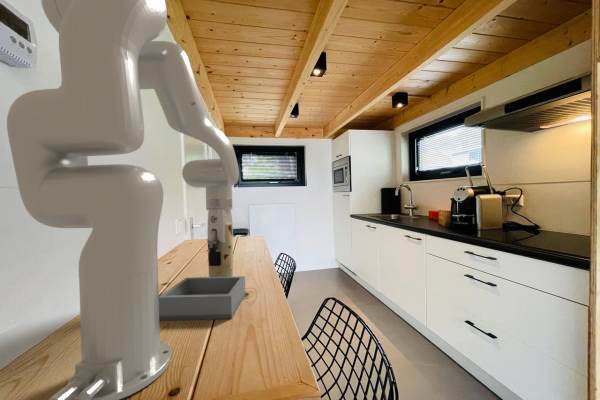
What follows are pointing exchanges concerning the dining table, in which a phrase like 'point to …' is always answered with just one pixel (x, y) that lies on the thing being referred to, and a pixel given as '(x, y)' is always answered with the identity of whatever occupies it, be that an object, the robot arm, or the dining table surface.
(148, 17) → the robot arm
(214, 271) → the food model
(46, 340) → the dining table surface
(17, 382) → the dining table surface
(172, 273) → the dining table surface
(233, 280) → the bin
